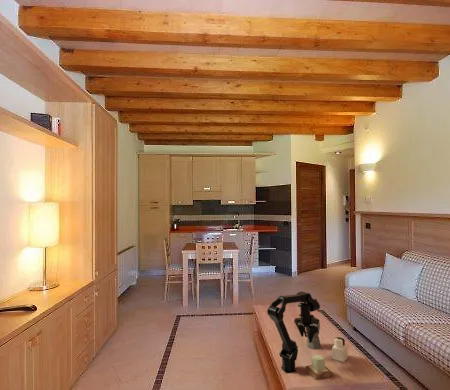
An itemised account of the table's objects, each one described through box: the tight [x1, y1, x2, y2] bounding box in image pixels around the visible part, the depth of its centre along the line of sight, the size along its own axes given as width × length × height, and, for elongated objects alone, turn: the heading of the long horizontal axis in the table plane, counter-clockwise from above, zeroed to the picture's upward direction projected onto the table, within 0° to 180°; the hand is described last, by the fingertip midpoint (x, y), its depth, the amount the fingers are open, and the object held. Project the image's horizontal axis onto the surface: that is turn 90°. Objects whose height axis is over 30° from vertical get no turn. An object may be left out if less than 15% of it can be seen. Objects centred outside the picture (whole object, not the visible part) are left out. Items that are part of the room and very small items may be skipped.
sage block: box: [311, 354, 326, 371], centre depth 176 cm, size 5×5×6 cm
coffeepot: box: [304, 321, 322, 350], centre depth 210 cm, size 15×9×18 cm, turn 119°
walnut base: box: [305, 364, 333, 380], centre depth 175 cm, size 10×10×3 cm
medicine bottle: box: [331, 336, 349, 363], centre depth 192 cm, size 7×7×12 cm
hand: (306, 339), depth 190 cm, fingers open, 9 cm apart
